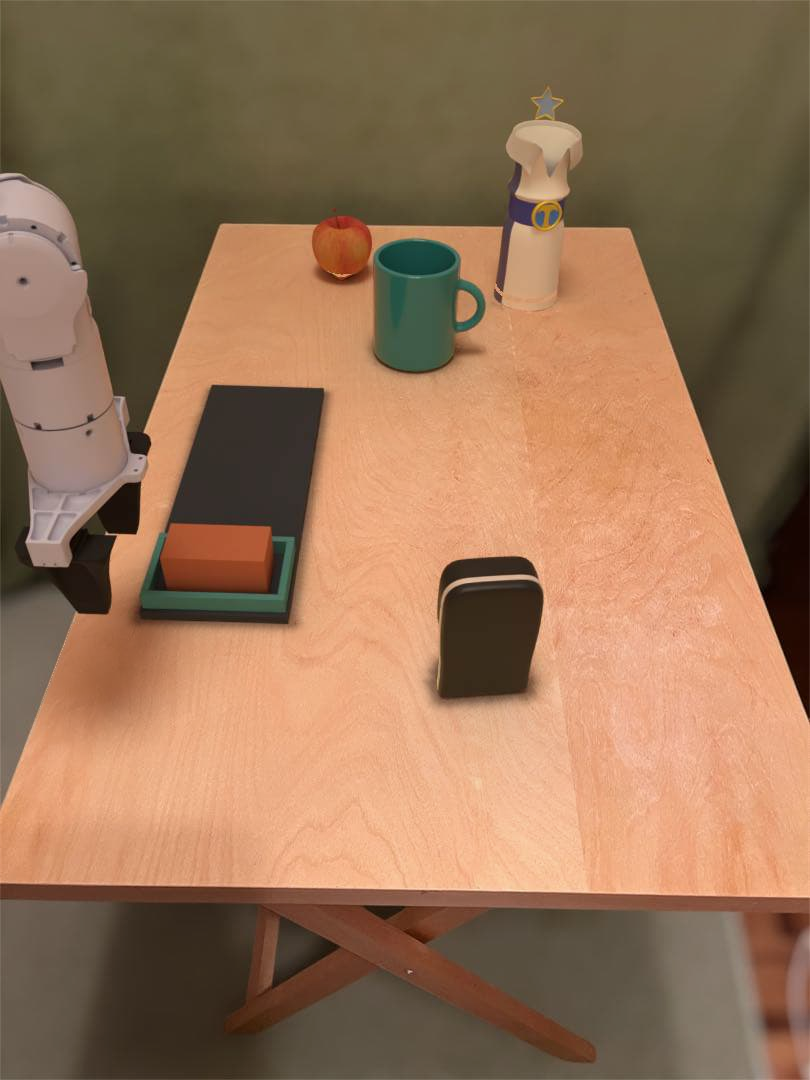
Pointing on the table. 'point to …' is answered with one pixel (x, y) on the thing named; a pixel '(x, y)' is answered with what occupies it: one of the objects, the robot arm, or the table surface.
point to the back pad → (244, 495)
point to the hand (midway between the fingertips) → (109, 568)
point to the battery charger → (487, 625)
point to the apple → (342, 245)
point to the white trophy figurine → (536, 206)
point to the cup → (418, 303)
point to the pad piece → (218, 558)
